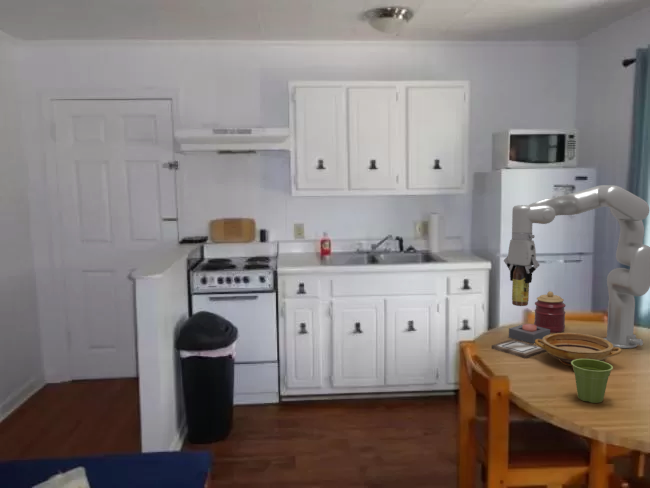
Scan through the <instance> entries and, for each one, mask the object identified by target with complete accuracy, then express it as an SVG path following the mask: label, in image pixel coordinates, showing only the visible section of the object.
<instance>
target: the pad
mask: <svg viewBox="0 0 650 488" xmlns="http://www.w3.org/2000/svg"><path fill="white" fill-rule="evenodd" d="M491 349H492V350H495V351H500V352H503V353H506V354H510V355H513V356H517V357H519V358H523V359H529V358H531V357H532V358H533V357H534V356H537V355H540V354H544V353H546V352H547V351H546V350H545V349H543V348H541V347H539V346H538V345H536V344H532V343H528V342H524V341H521V340H517V339H513V338H511V339H509V340H506V341H503V342H499V343H496V344H492V345H491Z"/></svg>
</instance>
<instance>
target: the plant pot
mask: <svg viewBox="0 0 650 488" xmlns="http://www.w3.org/2000/svg"><path fill="white" fill-rule="evenodd" d="M571 364H572V365H573V366H572V369H573V372H574V377H575V385H576V393H577V398H578V400H581V401H583V402H589V403H592V404H596V403H598V404H599V403H602V402H603V401H604V397H605V394H606V389H607V387H608V386H607V384H608V380H609V377H610V376H611V375H610V374H611V372H612V371H613V368H614V367H613V365H612V364H610V363H608V362H605V361H599V360H594V359H576V360H573V361H572V362H571Z"/></svg>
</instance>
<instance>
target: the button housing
mask: <svg viewBox="0 0 650 488" xmlns="http://www.w3.org/2000/svg"><path fill="white" fill-rule="evenodd" d="M522 325H523V324H520V325H517V326H513V327H510V328H508V338H509V339H510V338H511V339H515V340H518V341H522V342H526V343H528V342H529V344H533V345H535V344H536V343H535V340H536V339H541V340H542V338H543V337H544V336H546V335H549V334H551V333H550V329H546V328H542V327H538V326H537V331H534V332H529V331H525V330H522ZM534 343H535V344H534Z"/></svg>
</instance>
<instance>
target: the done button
mask: <svg viewBox="0 0 650 488" xmlns="http://www.w3.org/2000/svg"><path fill="white" fill-rule="evenodd" d="M521 325H522V330H525V331H529V332H534V331H537V326H536V325H534V323H522V324H521Z"/></svg>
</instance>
